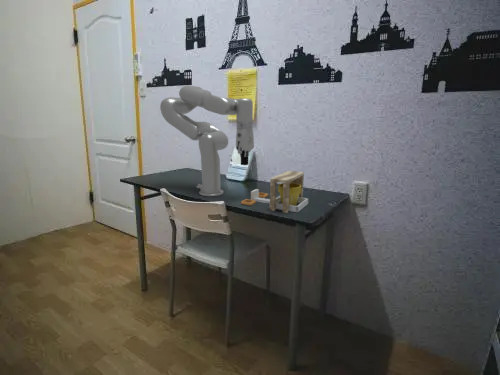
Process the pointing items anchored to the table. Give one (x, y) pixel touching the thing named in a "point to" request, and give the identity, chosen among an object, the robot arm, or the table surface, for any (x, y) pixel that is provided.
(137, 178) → the table surface
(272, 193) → the tunnel
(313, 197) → the table surface
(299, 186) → the plant pot
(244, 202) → the pit tray near right
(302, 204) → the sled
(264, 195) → the pit tray near left
